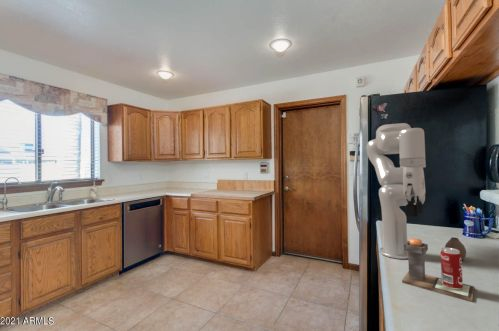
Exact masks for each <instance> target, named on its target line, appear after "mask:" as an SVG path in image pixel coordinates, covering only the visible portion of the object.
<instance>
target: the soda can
mask: <svg viewBox="0 0 499 331" xmlns="http://www.w3.org/2000/svg"><path fill="white" fill-rule="evenodd" d="M462 261H463V260H462V259H461V254H460V251H459V250H457V249H454V248H445V247H442V248H441V251H440V270H441V278H442V284H443V286H445V287H446V288H449V289H452V290H461V289H462V288H463V284H464V283H463V265H462V264H463V263H462Z"/></svg>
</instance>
